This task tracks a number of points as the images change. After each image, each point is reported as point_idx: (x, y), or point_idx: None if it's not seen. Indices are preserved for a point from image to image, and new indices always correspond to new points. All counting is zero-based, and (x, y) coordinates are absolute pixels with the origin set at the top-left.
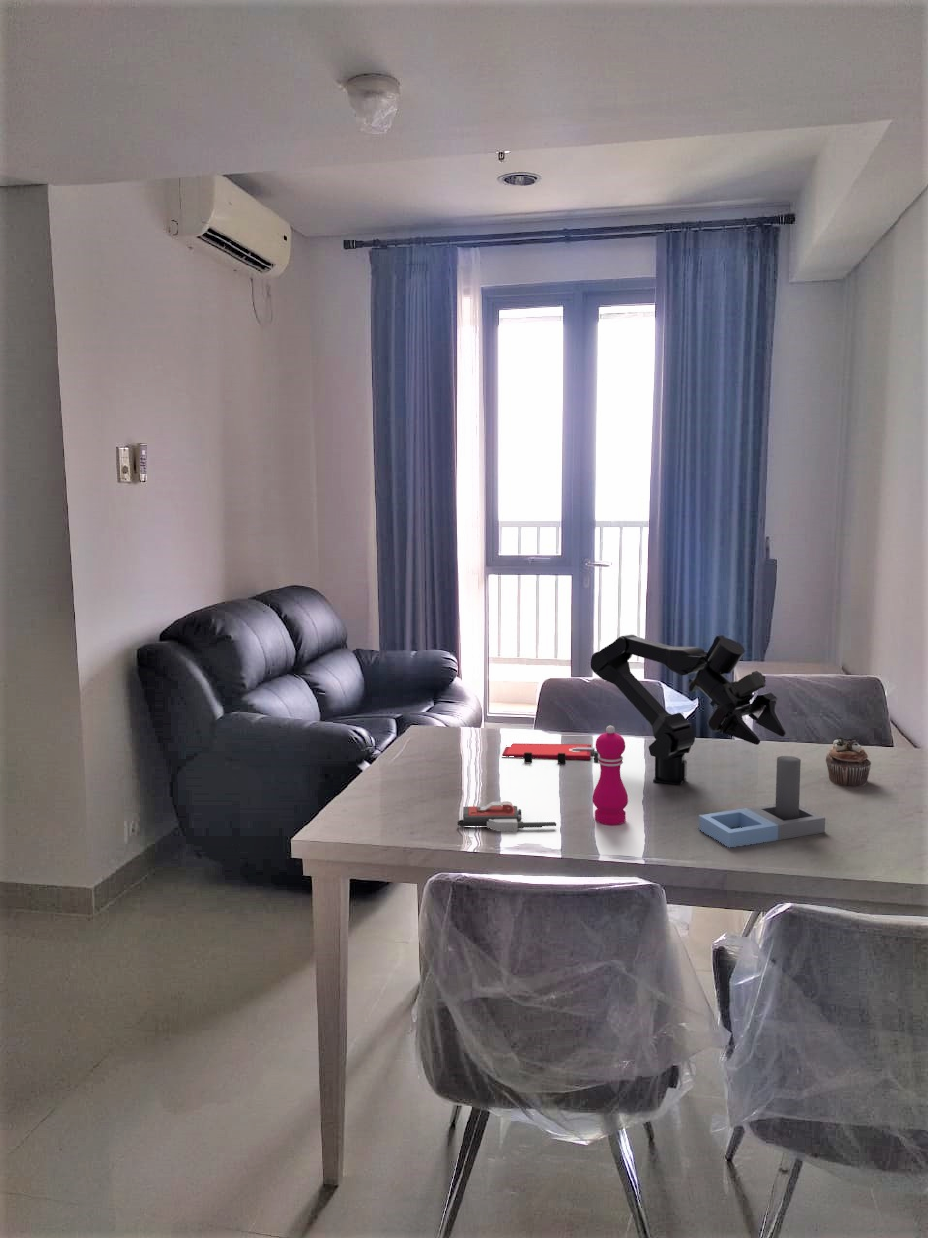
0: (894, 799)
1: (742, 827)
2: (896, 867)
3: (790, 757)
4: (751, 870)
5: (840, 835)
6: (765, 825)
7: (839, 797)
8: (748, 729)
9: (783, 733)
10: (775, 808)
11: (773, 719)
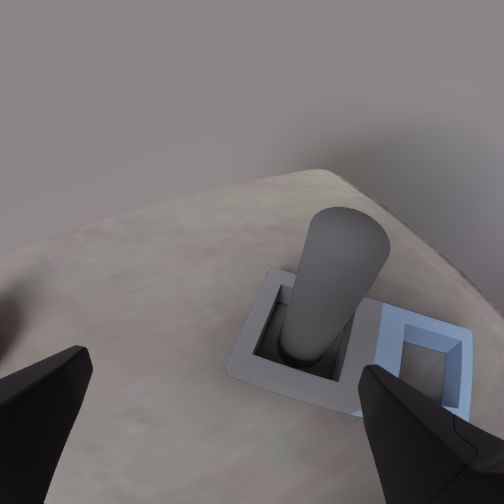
0: (32, 268)
1: (443, 334)
2: (305, 186)
3: (328, 239)
4: (464, 281)
5: (258, 262)
6: (403, 316)
7: (53, 340)
8: (439, 414)
9: (84, 356)
10: (328, 347)
11: (13, 410)
